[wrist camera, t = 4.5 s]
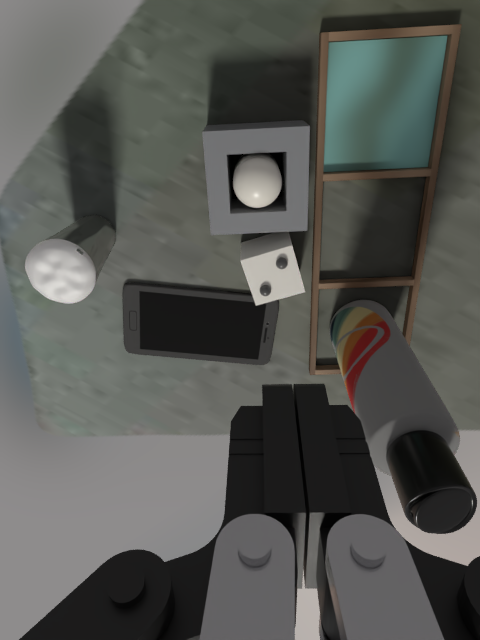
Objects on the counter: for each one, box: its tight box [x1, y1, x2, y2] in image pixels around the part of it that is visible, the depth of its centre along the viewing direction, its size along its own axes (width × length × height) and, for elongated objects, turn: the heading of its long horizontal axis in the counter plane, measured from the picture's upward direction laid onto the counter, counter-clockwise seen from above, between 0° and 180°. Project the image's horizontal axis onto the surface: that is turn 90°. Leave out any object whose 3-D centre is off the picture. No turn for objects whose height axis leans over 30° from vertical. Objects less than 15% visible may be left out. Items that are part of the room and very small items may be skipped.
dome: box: [233, 153, 282, 208], centre depth 32 cm, size 3×3×5 cm
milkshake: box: [25, 215, 116, 303], centre depth 32 cm, size 5×5×10 cm
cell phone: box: [123, 283, 279, 365], centre depth 41 cm, size 7×14×1 cm, turn 84°
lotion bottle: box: [330, 300, 477, 534], centre depth 32 cm, size 6×6×20 cm
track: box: [309, 24, 461, 375], centre depth 36 cm, size 9×28×1 cm, turn 3°
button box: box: [202, 120, 310, 235], centre depth 32 cm, size 7×7×4 cm
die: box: [240, 232, 305, 306], centre depth 36 cm, size 4×4×4 cm
